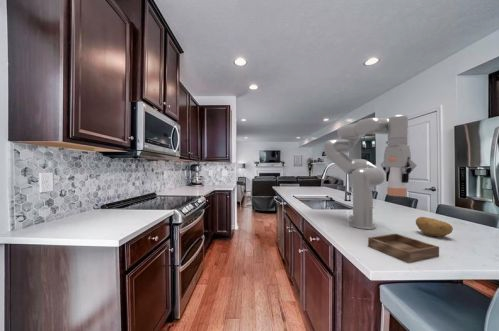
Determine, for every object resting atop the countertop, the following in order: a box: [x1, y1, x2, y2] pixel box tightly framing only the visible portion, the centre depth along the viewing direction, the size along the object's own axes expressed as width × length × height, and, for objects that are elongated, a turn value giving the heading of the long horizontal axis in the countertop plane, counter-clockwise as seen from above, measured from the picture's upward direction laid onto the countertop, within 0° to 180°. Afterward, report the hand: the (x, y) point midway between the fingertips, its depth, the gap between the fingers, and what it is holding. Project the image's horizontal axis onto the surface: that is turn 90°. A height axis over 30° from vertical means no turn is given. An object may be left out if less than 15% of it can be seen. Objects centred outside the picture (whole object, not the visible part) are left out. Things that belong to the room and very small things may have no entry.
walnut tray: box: [367, 233, 440, 264], centre depth 83 cm, size 16×16×4 cm
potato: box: [415, 216, 454, 238], centre depth 102 cm, size 10×14×8 cm
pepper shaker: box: [386, 156, 408, 197], centre depth 98 cm, size 7×7×19 cm
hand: (396, 181), depth 98 cm, fingers closed on pepper shaker, 6 cm apart
